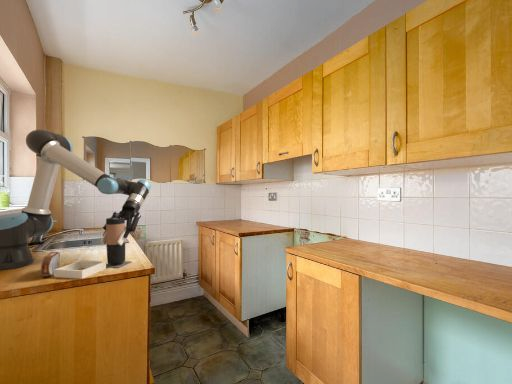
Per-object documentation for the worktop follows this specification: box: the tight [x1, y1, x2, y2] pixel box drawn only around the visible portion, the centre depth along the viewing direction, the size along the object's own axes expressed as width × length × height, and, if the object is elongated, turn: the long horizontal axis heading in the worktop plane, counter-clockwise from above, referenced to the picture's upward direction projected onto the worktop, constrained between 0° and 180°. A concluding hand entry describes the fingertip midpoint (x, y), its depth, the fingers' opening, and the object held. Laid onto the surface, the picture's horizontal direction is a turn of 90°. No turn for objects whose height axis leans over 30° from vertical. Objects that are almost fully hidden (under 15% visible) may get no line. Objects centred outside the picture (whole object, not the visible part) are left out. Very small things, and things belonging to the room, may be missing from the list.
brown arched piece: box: [40, 251, 61, 278], centre depth 106 cm, size 15×3×8 cm, turn 24°
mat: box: [106, 260, 132, 269], centre depth 118 cm, size 9×9×1 cm
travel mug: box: [105, 217, 126, 264], centre depth 117 cm, size 8×8×20 cm
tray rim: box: [53, 260, 107, 280], centre depth 107 cm, size 13×13×3 cm
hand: (110, 243), depth 114 cm, fingers open, 8 cm apart
